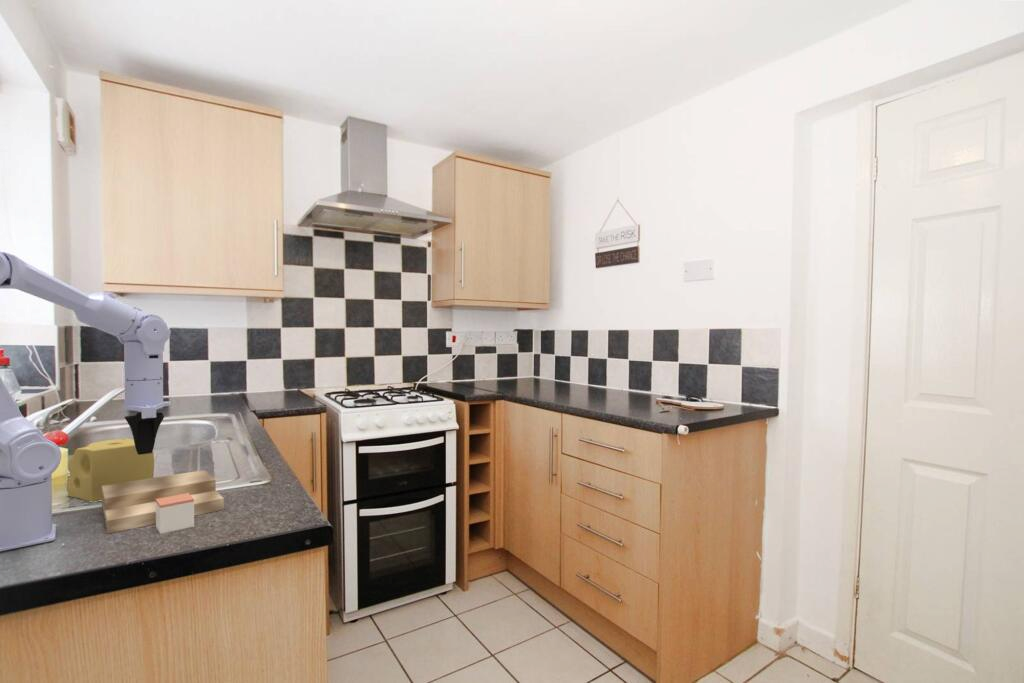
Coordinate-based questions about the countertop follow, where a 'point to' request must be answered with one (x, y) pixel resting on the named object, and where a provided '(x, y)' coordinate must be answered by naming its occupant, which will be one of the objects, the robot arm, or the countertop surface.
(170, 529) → the white cube
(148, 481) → the step
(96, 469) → the cheese
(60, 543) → the countertop surface
